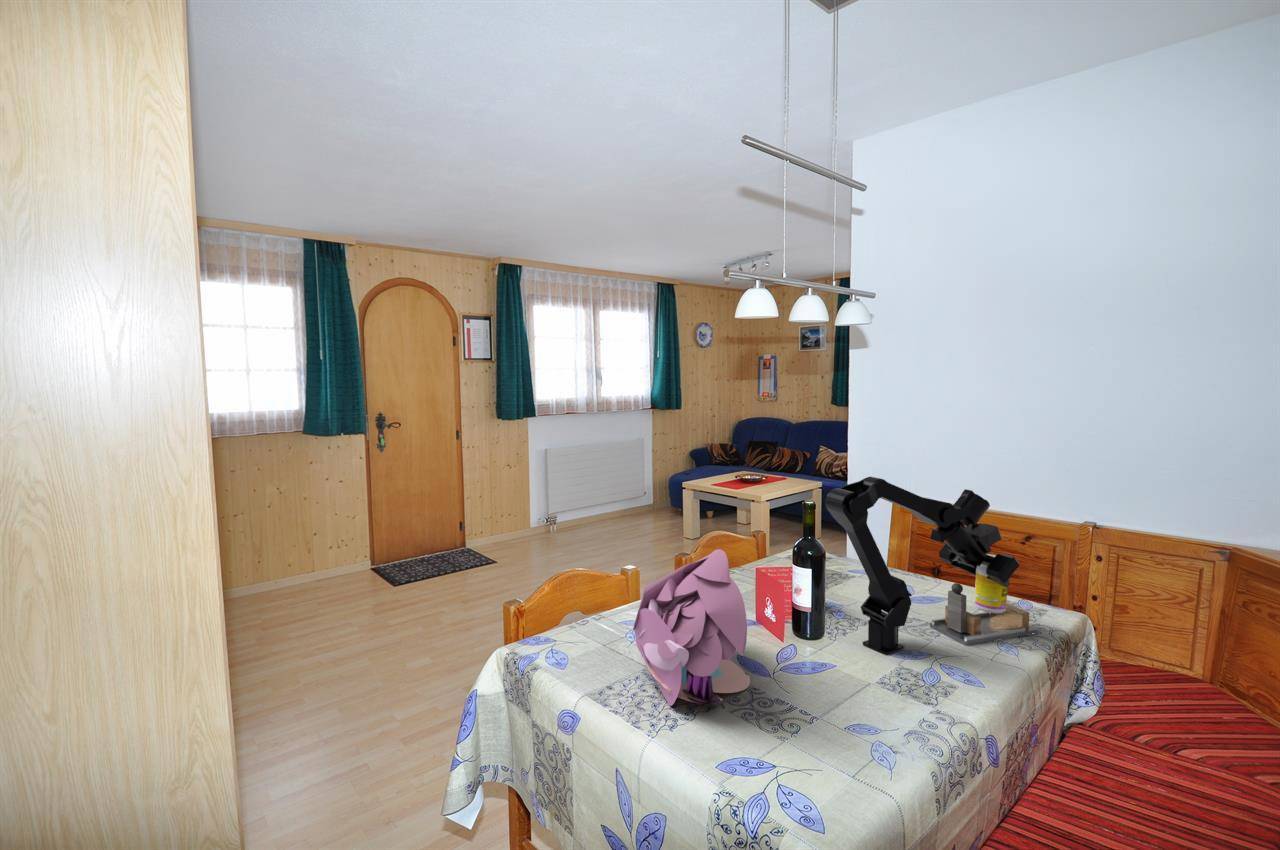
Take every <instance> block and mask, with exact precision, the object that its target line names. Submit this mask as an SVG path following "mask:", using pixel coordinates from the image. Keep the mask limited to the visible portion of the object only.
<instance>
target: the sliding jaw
mask: <svg viewBox="0 0 1280 850" xmlns="http://www.w3.org/2000/svg"><path fill="white" fill-rule="evenodd" d="M950 587H951V590H947V605H945V609H944V611H945V612H944V613H945V614H944V615H945V616H944V618H945V622H946V623H947V626H948V627H950V628H952V629H954V630H956V631H958V632H960V633H963V632H967V633H969V634H971V635H975V634H981V618H980V617H978V616H976V615H973V614H974V613H971V612H968V611H967V595H966V594H964V593H962V592H963V591H964V587H963V585H962V584H960V583H957V582H956V583H953V584H952V585H951V586H950Z"/></svg>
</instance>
